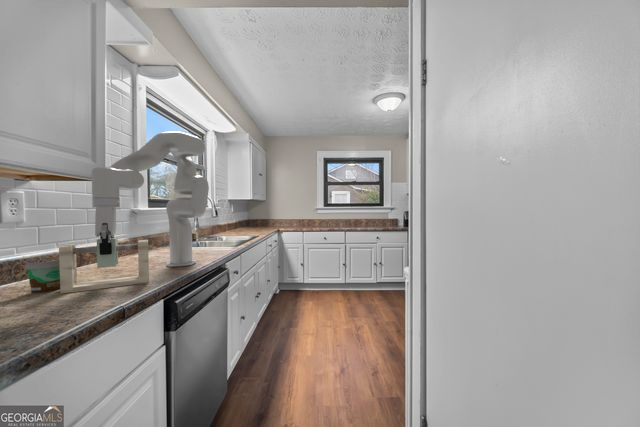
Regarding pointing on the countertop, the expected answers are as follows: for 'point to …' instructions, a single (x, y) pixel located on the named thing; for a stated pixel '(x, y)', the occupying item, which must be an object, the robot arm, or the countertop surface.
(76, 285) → the shelf stand
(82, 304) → the countertop surface
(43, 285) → the food container
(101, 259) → the sage green brick
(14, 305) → the countertop surface
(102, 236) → the robot arm
